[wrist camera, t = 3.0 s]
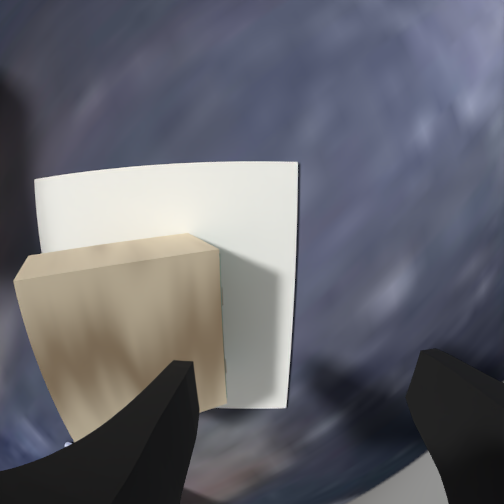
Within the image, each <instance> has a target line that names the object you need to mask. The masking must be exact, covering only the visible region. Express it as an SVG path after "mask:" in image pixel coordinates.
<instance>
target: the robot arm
mask: <svg viewBox="0 0 504 504" xmlns="http://www.w3.org/2000/svg"><path fill="white" fill-rule="evenodd" d="M405 398H406V401H407V404H408V407H409V410H410V413H411V415H412V418H413V421H414V423H415V425H416V427H417V429H418V431H419V433H420V435H421V437H422V439H423V441H424V443H425V445H426V447H427V449H428V451H429V453H430V455H431V456H432V459H433V460H434V463H435V464H436V467H437V469H438V471H439V474H440V476H441V479H442V482H443V485H444V488H445V491H446V495H447V498H448V503H449V504H504V383H502V382H500V381H498V380H496V379H494V378H492V377H490V376H488V375H486V374H484V373H483V372H481V371H479V370H477V369H475V368H473V367H471V366H470V365H468V364H466V363H464V362H462V361H460V360H459V359H457V358H455V357H453V356H451V355H449V354H447V353H445V352H443V351H440V350H438V349H428V350H422V351H420V355H419V358H418V361H417V365H416V368H415V371H414V374H413V377H412V380H411V383H410V386H409V389H408V392H407V394H406V397H405ZM199 411H200V408H199V401H198V394H197V387H196V379H195V371H194V363H193V361H180V360H173V361H172V362H171V363H170V364H169V365H168V366H167V367H166V368H165V369H164V370H163V371H162V372H161V373H160V374H159V375H158V376H157V377H156V378H155V379H154V380H153V381H152V382H151V383H150V384H149V385H148V386H147V387H146V388H145V389H144V390H143V391H142V392H141V393H140V394H138V395H137V396H136V397H135V398H134V399H133V400H132V401H131V402H130V403H129V404H128V405H126V406H125V407H124V408H123V409H122V410H120V411H119V412H118V413H117V414H116V415H114V416H113V417H112V418H111V419H109V420H108V421H107V422H105V423H104V424H103V425H101V426H100V427H99V428H97V429H96V430H94V431H93V432H91V433H89V434H88V435H86V436H85V437H83V438H82V439H80V440H78V441H76V442H74V443H70V442H66V444H65V448H63V449H61V450H59V451H57V452H55V453H53V454H51V455H49V456H46V457H44V458H41V459H39V460H36V461H34V462H31V463H28V464H25V465H22V466H19V467H16V468H12V469H8V470H4V471H0V504H180V500H181V495H182V490H183V487H184V483H185V479H186V475H187V471H188V467H189V464H190V460H191V456H192V452H193V448H194V444H195V440H196V436H197V428H198V420H199Z"/></svg>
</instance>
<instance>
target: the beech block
mask: <svg viewBox="0 0 504 504" xmlns="http://www.w3.org/2000/svg"><path fill="white" fill-rule="evenodd" d="M13 282H14V286H15V291H16V295H17V299H18V303H19V306H20V310H21V314H22V317H23V321H24V324H25V327H26V331H27V334H28V337H29V340H30V343H31V346H32V349H33V352H34V354H35V357H36V360H37V363H38V365H39V368H40V370H41V373H42V375H43V378H44V380H45V383H46V385H47V387H48V390H49V392H50V394H51V397H52V399H53V401H54V403H55V405H56V407H57V409H58V412H59V414H60V416H61V418H62V420H63V422H64V424H65V426H66V427H67V429H68V431H69V433H70V435H71V437H72V439H73V440H74V442H76V441H78V440H80V439H82V438H83V437H85V436H86V435H88V434H89V433H91V432H93V431H94V430H96V429H97V428H99V427H100V426H101V425H103V424H104V423H105V422H107V421H108V420H109V419H111V418H112V417H113V416H114V415H116V414H117V413H118V412H119V411H120V410H122V409H123V408H124V407H125V406H126V405H128V404H129V403H130V402H131V401H132V400H133V399H134V398H135V397H136V396H137V395H138V394H140V393H141V392H142V391H143V390H144V389H145V388H146V387H147V386H148V385H149V384H150V383H151V382H152V381H153V380H154V379H155V378H156V377H157V376H158V375H159V374H160V373H161V372H162V371H163V370H164V369H165V368H166V367H167V366H168V365H169V364H170V363H171V362H172V361H173V360H180V361H193V363H194V371H195V379H196V387H197V394H198V401H199V408H200V411H199V413H200V412H203V411H206V410H209V409H212V408H215V407H218V406H221V405H224V404H227V387H226V373H227V368H226V359H225V354H224V335H223V315H222V306H223V288H222V287H221V264H220V253H219V249H218V248H216V247H214V246H212V245H210V244H208V243H206V242H204V241H203V240H201V239H199V238H197V237H195V236H193V235H191V234H189V233H184V234H176V235H168V236H160V237H152V238H145V239H137V240H130V241H123V242H116V243H109V244H102V245H95V246H88V247H81V248H74V249H68V250H61V251H55V252H48V253H42V254H36V255H30V256H28V257H27V259H26V261H25V262H24V264H23V266H22V267H21V269H20V270H19V272H18V274H17V276H16V277H15V279H14V281H13Z"/></svg>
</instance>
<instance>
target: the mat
mask: <svg viewBox="0 0 504 504" xmlns="http://www.w3.org/2000/svg"><path fill="white" fill-rule="evenodd" d="M34 182H35V199H36V211H37V221H38V230H39V237H40V245H41V251H42V253H48V252H55V251H61V250H68V249H74V248H81V247H88V246H95V245H102V244H109V243H116V242H123V241H130V240H137V239H145V238H152V237H160V236H168V235H176V234H184V233H189V234H191V235H193V236H195V237H197V238H199V239H201V240H203V241H204V242H206V243H208V244H210V245H212V246H214V247H216V248H218V249H219V253H220V264H221V287H222V288H223V306H222V315H223V335H224V354H225V359H226V368H227V373H226V387H227V404H224V405H221V406H218V407H215V408H240V409H266V408H286V403H287V392H288V380H289V367H290V354H291V339H292V324H293V306H294V287H295V264H296V236H297V194H298V162H202V163H180V164H163V165H149V166H136V167H125V168H115V169H105V170H96V171H88V172H80V173H73V174H65V175H59V176H52V177H46V178H40V179H34Z"/></svg>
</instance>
